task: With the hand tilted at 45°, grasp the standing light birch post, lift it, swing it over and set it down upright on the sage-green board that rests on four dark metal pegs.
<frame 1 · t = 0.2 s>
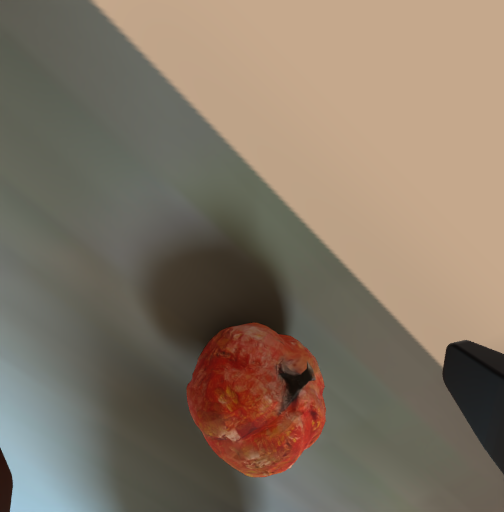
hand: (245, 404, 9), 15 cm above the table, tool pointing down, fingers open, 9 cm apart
pomegranate: (241, 358, 27), on the table
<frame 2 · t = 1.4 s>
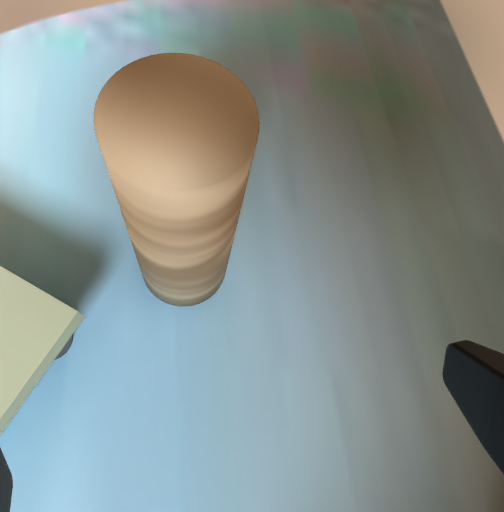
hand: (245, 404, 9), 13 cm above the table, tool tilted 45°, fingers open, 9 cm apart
post: (184, 265, 24), on the table
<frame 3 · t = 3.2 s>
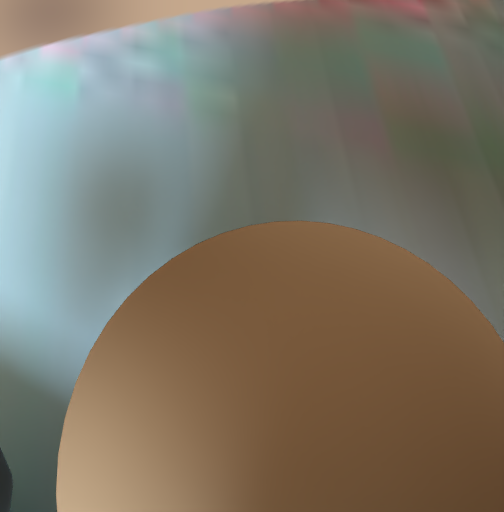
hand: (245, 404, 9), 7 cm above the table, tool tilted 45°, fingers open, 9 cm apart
post: (224, 431, 16), on the table
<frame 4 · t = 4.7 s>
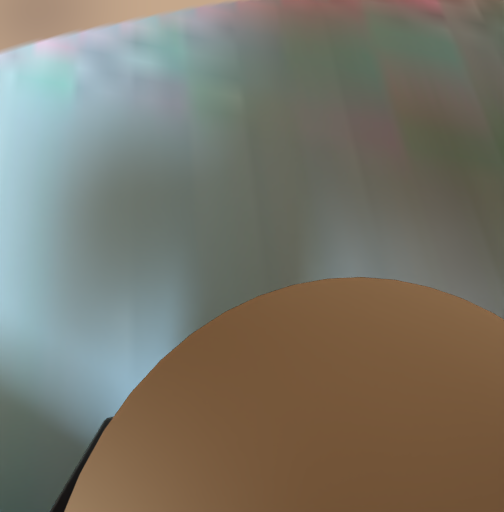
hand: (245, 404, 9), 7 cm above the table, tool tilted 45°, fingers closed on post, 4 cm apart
post: (231, 455, 14), on the table, touching gripper
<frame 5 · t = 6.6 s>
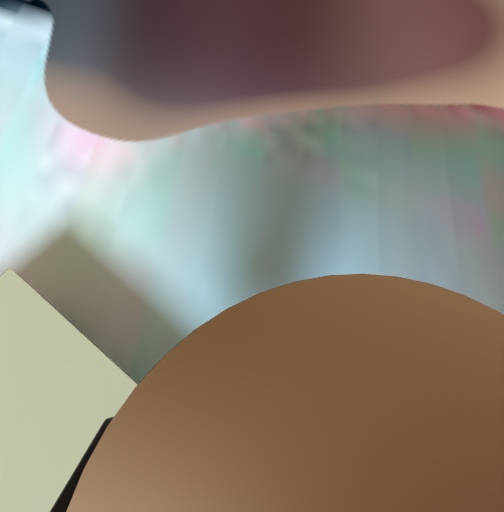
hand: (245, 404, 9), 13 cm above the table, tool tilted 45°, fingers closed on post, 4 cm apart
post: (232, 454, 14), point 7 cm above the table, touching gripper
when the fingers open (12 cm above the table, at t = 8.5 s): post drops 1 cm, resting on peg shelf.
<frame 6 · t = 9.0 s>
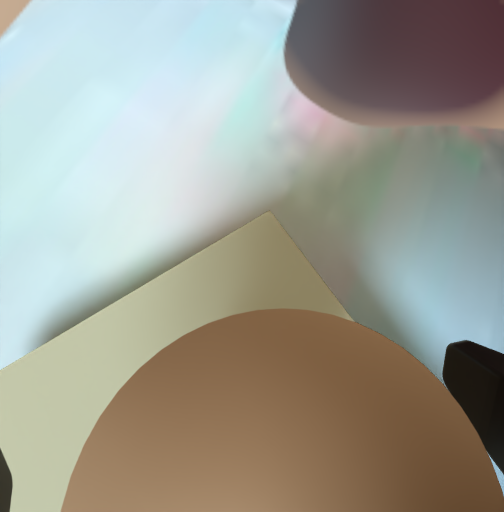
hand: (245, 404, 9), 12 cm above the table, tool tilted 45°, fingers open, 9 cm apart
post: (227, 454, 16), point 4 cm above the table, touching peg shelf
peg shelf: (221, 447, 19), on the table
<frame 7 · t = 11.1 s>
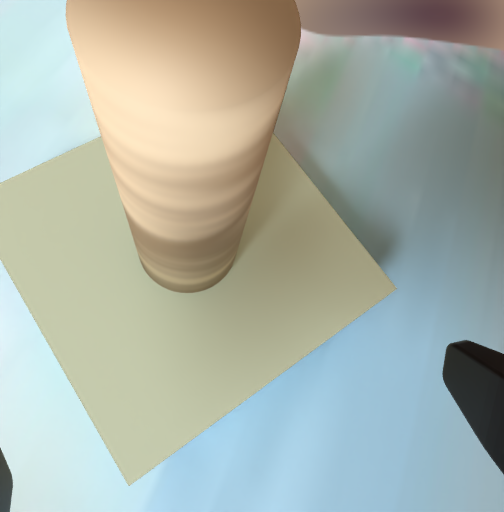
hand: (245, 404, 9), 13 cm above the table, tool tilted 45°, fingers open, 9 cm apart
post: (187, 245, 20), point 4 cm above the table, touching peg shelf
peg shelf: (188, 270, 24), on the table
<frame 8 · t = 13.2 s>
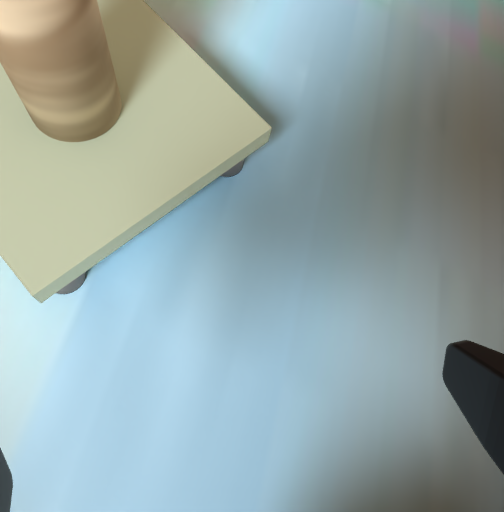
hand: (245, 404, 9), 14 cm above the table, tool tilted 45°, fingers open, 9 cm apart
post: (76, 104, 22), point 4 cm above the table, touching peg shelf
peg shelf: (91, 147, 26), on the table
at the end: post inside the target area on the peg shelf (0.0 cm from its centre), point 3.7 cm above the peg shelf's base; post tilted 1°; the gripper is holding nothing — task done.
